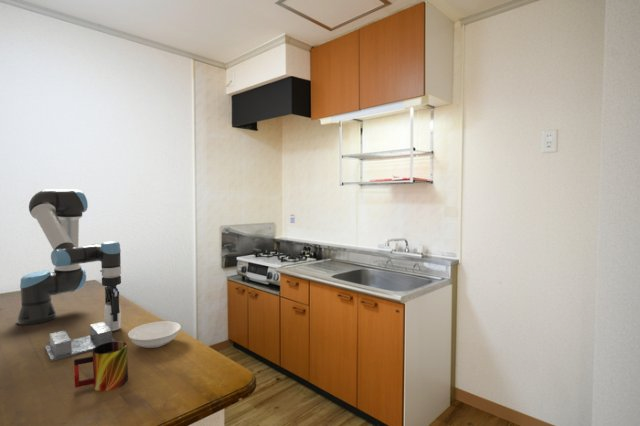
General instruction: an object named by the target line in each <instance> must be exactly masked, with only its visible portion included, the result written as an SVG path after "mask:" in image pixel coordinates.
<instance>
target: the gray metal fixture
mask: <svg viewBox="0 0 640 426" xmlns="http://www.w3.org/2000/svg"><path fill="white" fill-rule="evenodd" d="M89 329H90V330H89V333H90V335H86V336H80V337H78V338H75V339H71V338H70V336H69V335H68V333H67V332H66V330H61V331H55V332H52V333H49V344H48V345H45V346H44V349H45V350H46V354H47V356H48V358H49V360H50V361H51V362H53V361H54V362H55V361H58V360H63V359H66V358H69V357H73V356H76V355H77V356H78V355H81V354H84V353H89V352H93V349H94V348H95V347H97V346H99V345H102V344H105V343H109V342H115V341H117V340H116V339H115V338H114V337H113V331H112V330H111V329H110V328H109V327H108V326H107V325H106V324H105V323H104V321H101V322H95V323H92V324H90V325H89Z"/></svg>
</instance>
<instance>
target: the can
mask: <svg viewBox="0 0 640 426" xmlns="http://www.w3.org/2000/svg"><path fill="white" fill-rule="evenodd" d="M121 308H122V307H121V304H120V303H119V309H120V313H118V328H114V329H111V315H110V314H112V312H111V303H110V302H108V303H106V304H104V308H103V315H104V317H103V319H104V321H103V322H104V323H105V324H106V325H107V326H108V327H109V328H110V329H111V330H112V332H115V331H118V330H120V329H121V327H122V313H121Z"/></svg>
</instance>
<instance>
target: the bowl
mask: <svg viewBox="0 0 640 426" xmlns="http://www.w3.org/2000/svg"><path fill="white" fill-rule="evenodd" d="M181 327H182V326H181V324H179V323H178V322H177V321H176V322H174V321H164V320H163V321H154V322H148V323H144V324H141V325H138V326H136V327H133V328H132V329H130V330H129V332H128V333H127V337H128V338H129V339H130V340H131V342H132V343H133V344H134V345H137V346H139V347H143V348H145V349H146V348H147V349H153V348H154V349H155V348H159V347H162V346H164V345H167V344H168V343H170V342H171V341H172V340H174V339H175V338H176V337H177V335H178V333H179V332H180V330H181Z"/></svg>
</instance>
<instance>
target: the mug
mask: <svg viewBox="0 0 640 426" xmlns="http://www.w3.org/2000/svg"><path fill="white" fill-rule="evenodd" d="M73 362H74V363H73V366H74V370H73V371H74V376H73V377H74V378H73V379H74V388H75V389H77V388H80V387H84V386H90V385H93V388H94V390H95V391H98V392H108V391H113V390H116V389H119V388H121V387H122V386H124V385H126V383H127V382H128V380H129V373H128V371H129V370H128V369H129V367H128V366H129V365H128V343H127V342H125V341H121V340H118V341H117V340H116V341H115V342H109V343H105V344H102V345H99V346H97V347H95V348H94V349H93V350H92V356H87V357H86V356H85V357H81V358H75V359H74V360H73ZM89 363H92V369H93V375H92V376H93V377H92V378H87V379H83V380H80V370H79V369H80V366H79V365H85V364H89Z"/></svg>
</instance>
